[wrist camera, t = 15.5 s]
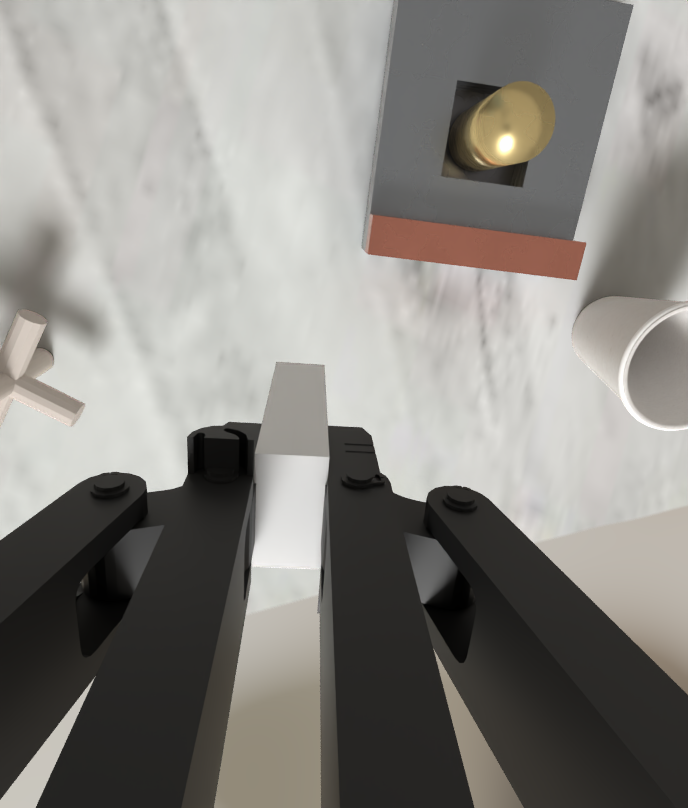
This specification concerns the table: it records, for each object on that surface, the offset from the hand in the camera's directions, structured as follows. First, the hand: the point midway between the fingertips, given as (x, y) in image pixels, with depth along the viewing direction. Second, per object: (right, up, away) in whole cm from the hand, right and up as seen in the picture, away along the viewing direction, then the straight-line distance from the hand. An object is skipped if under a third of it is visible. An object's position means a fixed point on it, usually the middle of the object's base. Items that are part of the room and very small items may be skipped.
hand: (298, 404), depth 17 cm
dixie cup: (+22, +6, +26) cm, 34 cm away
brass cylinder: (+11, +18, +20) cm, 29 cm away
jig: (+11, +18, +20) cm, 29 cm away
